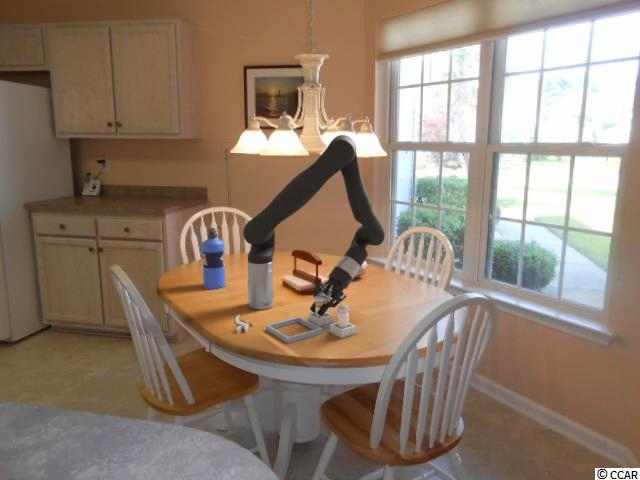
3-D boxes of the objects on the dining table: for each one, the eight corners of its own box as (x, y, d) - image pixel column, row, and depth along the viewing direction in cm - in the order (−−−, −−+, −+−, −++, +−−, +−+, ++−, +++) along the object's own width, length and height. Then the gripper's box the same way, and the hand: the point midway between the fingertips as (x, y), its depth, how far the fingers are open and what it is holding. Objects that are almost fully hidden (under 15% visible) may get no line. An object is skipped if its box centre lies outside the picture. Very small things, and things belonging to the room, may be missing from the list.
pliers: (265, 313, 170) (256, 329, 156) (265, 317, 170) (256, 334, 156) (237, 312, 171) (226, 328, 156) (237, 316, 171) (226, 333, 157)
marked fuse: (312, 320, 164) (312, 296, 162) (321, 318, 166) (321, 294, 164) (319, 324, 161) (319, 299, 159) (328, 321, 163) (328, 297, 161)
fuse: (334, 332, 154) (334, 306, 152) (343, 329, 156) (344, 304, 155) (342, 336, 151) (342, 310, 149) (351, 333, 153) (351, 307, 152)
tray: (266, 332, 156) (266, 325, 156) (299, 323, 164) (299, 316, 163) (287, 346, 146) (287, 338, 146) (322, 336, 154) (322, 328, 153)
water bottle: (224, 282, 211) (222, 225, 206) (227, 288, 202) (224, 229, 197) (202, 284, 208) (199, 226, 203) (204, 290, 200) (201, 230, 194)
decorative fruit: (352, 274, 224) (352, 253, 222) (369, 276, 220) (369, 255, 218) (344, 279, 215) (344, 257, 213) (361, 281, 212) (362, 259, 210)
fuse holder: (306, 323, 164) (306, 313, 164) (322, 318, 168) (322, 309, 168) (341, 341, 149) (341, 331, 148) (358, 336, 153) (358, 326, 153)
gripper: (325, 261, 169) (297, 301, 165) (351, 270, 158) (321, 313, 154) (337, 273, 174) (310, 312, 169) (363, 283, 162) (334, 325, 158)
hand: (315, 312), depth 161 cm, fingers closed on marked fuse, 3 cm apart
